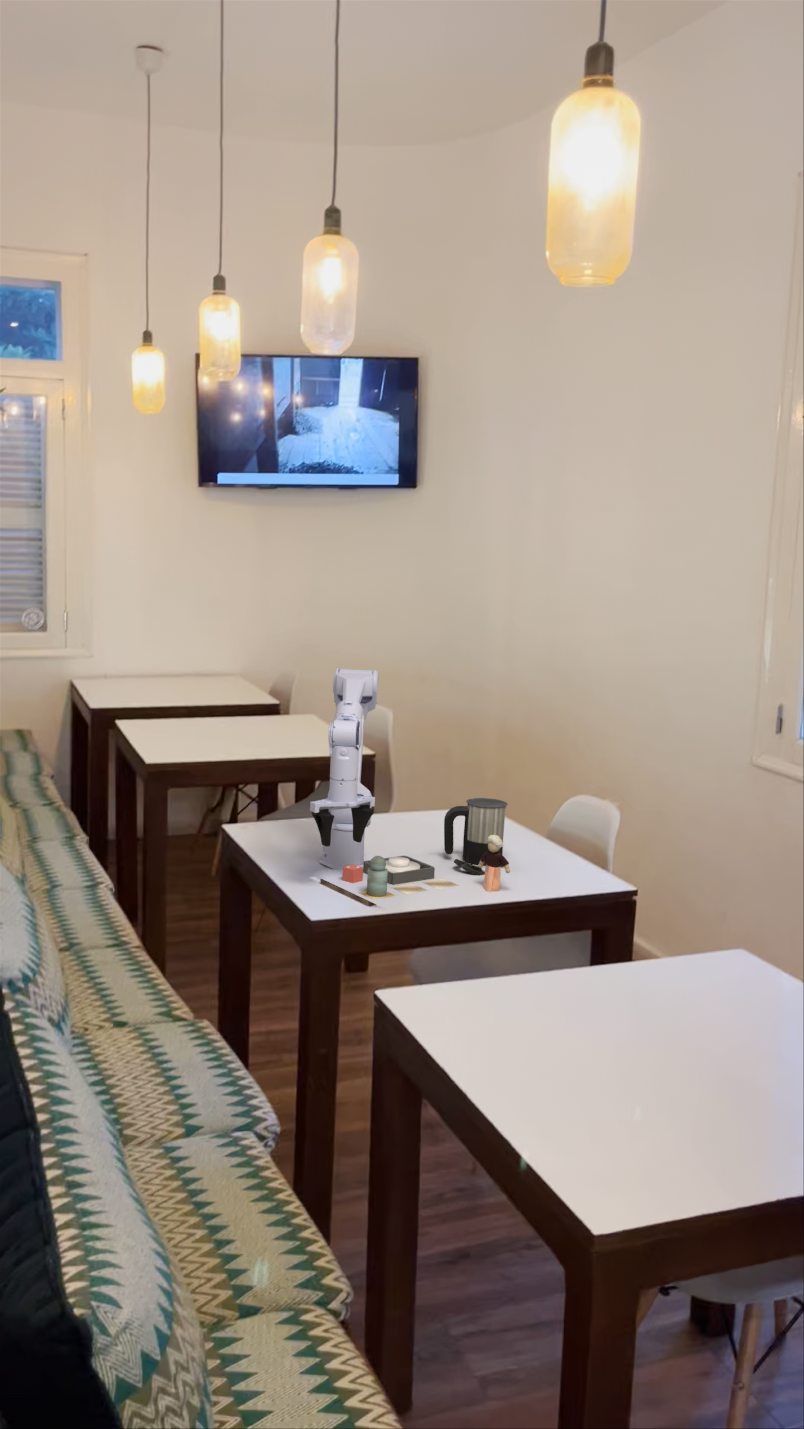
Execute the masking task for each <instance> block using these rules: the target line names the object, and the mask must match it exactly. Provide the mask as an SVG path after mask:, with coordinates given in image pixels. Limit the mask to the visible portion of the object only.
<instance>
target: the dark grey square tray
mask: <svg viewBox="0 0 804 1429" xmlns="http://www.w3.org/2000/svg"><path fill="white" fill-rule="evenodd" d="M396 857H404V858H408V859H409V861H413V862H416V863H418V864H419V865H420V869H417V870H410V871H403V872H396V873H392V872H389V871H388V876H387V885H388V884H389V885H392V886H397V885H403V884H410V883H414V882H419V881H421V882H423V881H429V880H435V871H436V870H435V866H433V865H430V864H427V863H426V862H424V861H420V860H417V859H415V858H414V857H413V858H412V857H410V856H408V855H398V856H397V855H396ZM383 858H384V859H385V860H389V858H391V856H390V857H383ZM370 861H371V859H370V860H364V861H363V865H362V867H363V874H365V875H368V868H371V867H370Z"/></svg>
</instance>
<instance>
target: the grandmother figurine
mask: <svg viewBox="0 0 804 1429" xmlns="http://www.w3.org/2000/svg"><path fill="white" fill-rule="evenodd" d="M487 841H488V849H489V850H490V851H487V852H486V853H484V854H483V856H482V857H481V859H480V862H479V864H478V865H477V866H478V867H480V868H483V867H485V868H484V871H485V875H484V877H483V889H484V890H485V892H488V893H492V892H500V889H501V888H500V887H501V879H502V877H501V872H502V871H501V865H502V866H503V867H502V868H504V870H505V873H506V874H510V873H511V869H510V862H509V861H508V860H507V858H506V857H505V856H504V855H503V854H502V855H501V854H500V853H499V852H498V851H499V850H500V848H501V847H502V846H503V847H504V845H505V844H504V841H503V842H502V840H501V839H500V838H499V836H497V835H490V836H489V837H488V840H487ZM485 862H486V866H483V864H484V863H485Z"/></svg>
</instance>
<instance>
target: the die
mask: <svg viewBox="0 0 804 1429" xmlns="http://www.w3.org/2000/svg"><path fill="white" fill-rule="evenodd" d="M363 880H364V872H363V866H361V865H358V866H356V865H349V866H345V867H343V868H342V876H341V881H342V882H343V881H344V882H348V883H350V884H356V883H359V882H363Z"/></svg>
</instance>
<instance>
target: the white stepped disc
mask: <svg viewBox="0 0 804 1429" xmlns="http://www.w3.org/2000/svg"><path fill="white" fill-rule="evenodd" d="M390 857H391V856H390ZM390 857H388V858H389V860H385V861H386V867H385V868H386V869H387V870H388V871H389V872H392V873H396V872H403V871H410V870H417V869H420V865H419V864H418V863H416V862H413V861H409V859H408V858H404V857H397V856H392V857H391V858H390Z"/></svg>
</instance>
